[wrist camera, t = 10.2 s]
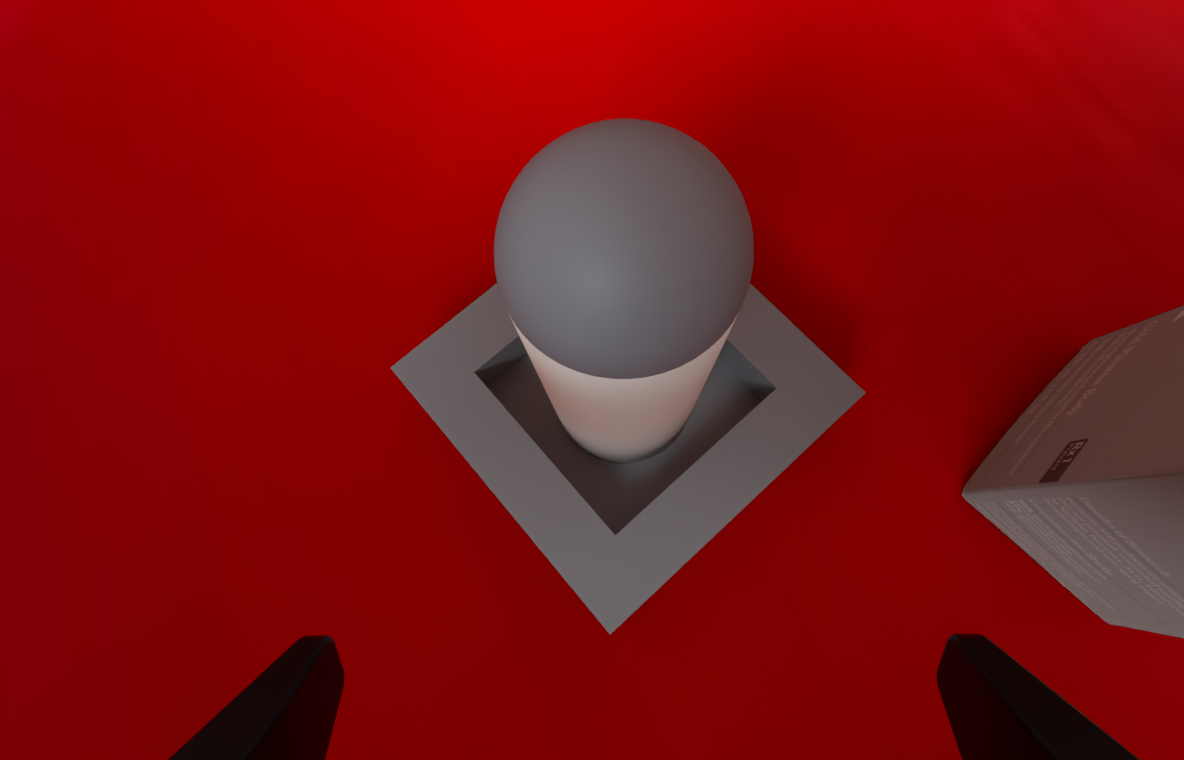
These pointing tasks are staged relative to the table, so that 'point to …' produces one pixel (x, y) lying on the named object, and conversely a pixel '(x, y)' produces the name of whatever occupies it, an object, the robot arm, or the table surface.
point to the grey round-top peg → (623, 278)
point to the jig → (635, 490)
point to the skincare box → (1102, 476)
